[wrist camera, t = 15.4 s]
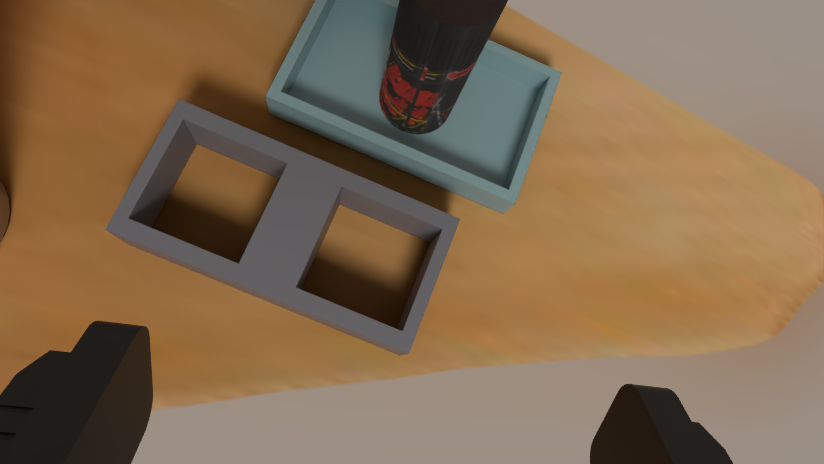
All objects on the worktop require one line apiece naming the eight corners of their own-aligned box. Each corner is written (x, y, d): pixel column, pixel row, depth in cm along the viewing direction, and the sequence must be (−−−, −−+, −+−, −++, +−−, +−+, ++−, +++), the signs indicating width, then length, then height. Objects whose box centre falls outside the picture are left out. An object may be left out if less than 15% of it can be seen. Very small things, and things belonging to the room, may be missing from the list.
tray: (547, 89, 49) (561, 72, 46) (503, 213, 46) (515, 203, 43) (330, -7, 48) (331, -31, 45) (269, 113, 45) (265, 96, 42)
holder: (446, 233, 45) (460, 218, 41) (399, 355, 42) (408, 353, 38) (192, 125, 44) (179, 98, 39) (127, 244, 41) (105, 229, 37)
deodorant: (374, 68, 47) (398, -67, 32) (445, 64, 48) (500, -68, 33) (384, 137, 45) (414, 29, 31) (457, 131, 46) (519, 24, 32)
